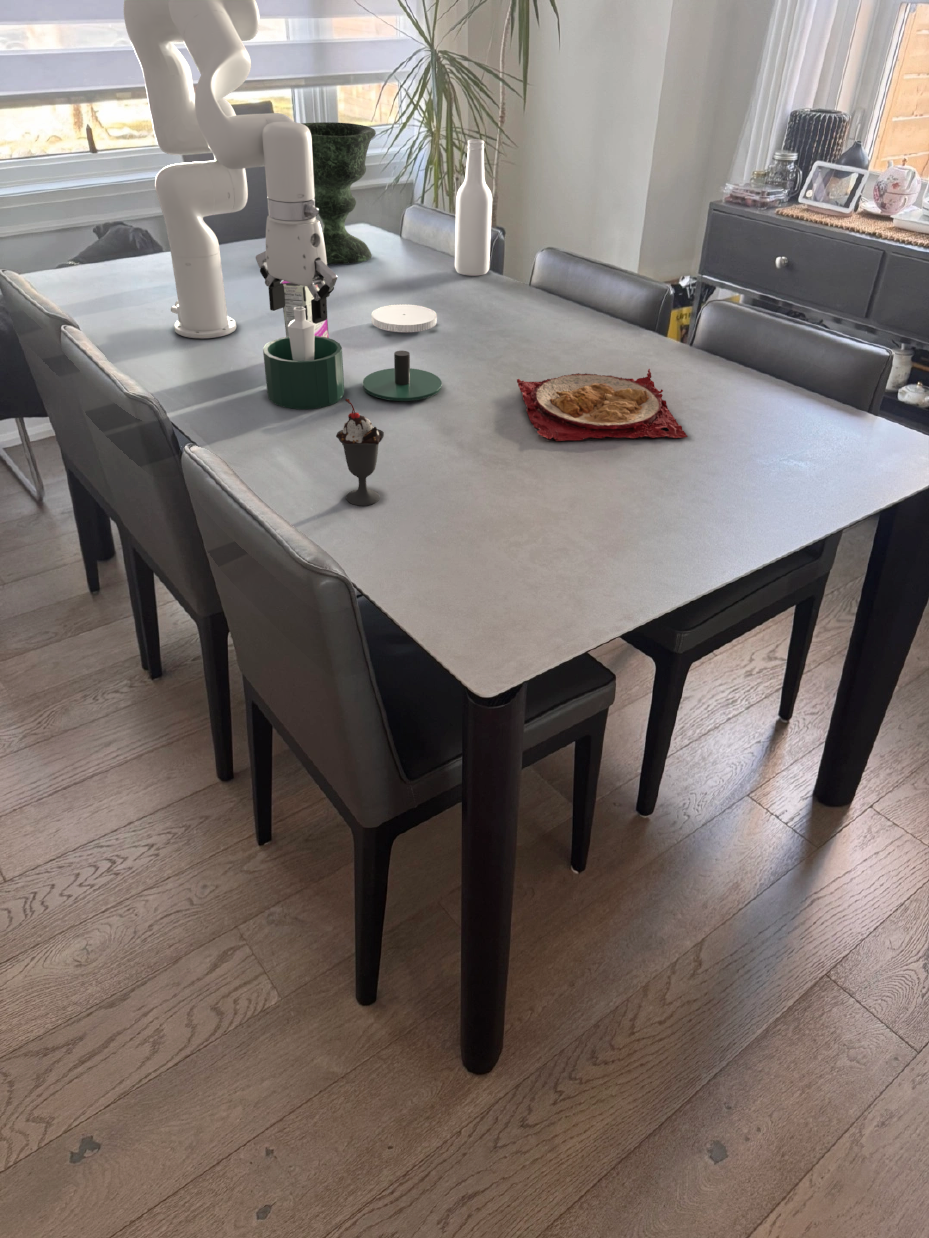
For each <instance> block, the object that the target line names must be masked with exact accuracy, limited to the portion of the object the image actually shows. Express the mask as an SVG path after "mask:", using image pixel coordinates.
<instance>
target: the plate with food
mask: <svg viewBox="0 0 929 1238" xmlns="http://www.w3.org/2000/svg"><path fill="white" fill-rule="evenodd" d="M652 377H653V376H652V372H651V369H650V368H648V370H647V373H646V376H645V377H644V376H643V377H639V378H636V380H635V378H627V377H625V378H624V377H619V376H614V375H605V374H603V375H601V374H596V373H594V374H593V373H587V372H586V373H579V372H578V373H571V374H563V375H561V376H557V377H553V378H547V379H544V380H542V381H525V380H521V378H517V379H516V383H517V385H518V387H519V391H520V393H522V400H523V402H524V404H525V406H526V407H525V408H526V412H527V416H528V419H529V421H530V423H531V424H532V425H533V428H534V429H538V430H537V431H536V432H537V434H538V435H539V436H541V437H544V438H546V439H547V440H551V439H552V438H553V439H554V440H555V441H556V442H561V441H563V442H564V441H584V440H585V439H589V438H590V439H591V438H592V439H594V438H595V439H605V438H606V437H608V438H617V439H621V438H630V439H636V438H637V439H638V438H643V437H648V438H650V439H655V438H661V437H662V438H665V437H667V438H669V439H670V438H673V439H678V438H680V439H685V438H688V437H689V436H688V434H687V432H685V430H683V426H682V425H681V424H679V422H678V421H677V419H676V418H675V417H674V414H672V412H671V411H670V409H669V408H668V405H667V400H664V399H663V394H662V393H663V392H664V389H662V388H661V389H660V390H659V389H658V388H657V387H655V382H654V381H653V380H652ZM664 428H667V429H668V430H667V431H666V430H663V429H664Z"/></svg>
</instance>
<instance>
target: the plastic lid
mask: <svg viewBox="0 0 929 1238" xmlns="http://www.w3.org/2000/svg"><path fill="white" fill-rule="evenodd" d="M370 317H371V318H370V321H371V324H372V325H373V326H374V327H376V328H378V329H380V330H383V331H387V332H393V333H417V332H422V331H427V330H429V329H430V330H431V329H432V328H434V327H435V326H436V325H437V322H438V321H437V320H438V314H437V313H436V311H435V310H433V309H431V308H429V307H426V306H422V305H418V304H417V305H416V304H402V303H401V304H390V305H384V306H380V307H377V308H375V309H374V310H373V311H371V315H370Z"/></svg>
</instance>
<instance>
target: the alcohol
mask: <svg viewBox="0 0 929 1238" xmlns="http://www.w3.org/2000/svg"><path fill="white" fill-rule="evenodd" d="M466 147H467V157H466V166H465V174H464V175H465V177H464V181H463V182H462V184H461V185H460V187H459V188H458V190H457V193H456V197H455V232H454V233H455V234H454V235H455V240H454V241H455V242H454V269H455V271H456V272H457V273H458V274H459V275H463V276H470V277H471V276H472V277H474V276H475V277H477V276H478V277H479V276H483V275H486V274H488V272H489V270H490V259H491V256H490V255H491V234H492V213H493V212H492V211H493V196H492V191H491V189H490V187H489V186H488V184H487V183H486V179H485V152H484V151H485V141H484V140H483V139H481V138H480V139H479V138H471V139H468V140H467V146H466Z"/></svg>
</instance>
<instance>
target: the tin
mask: <svg viewBox="0 0 929 1238" xmlns="http://www.w3.org/2000/svg"><path fill="white" fill-rule="evenodd" d="M262 354H263V364H264V372H265V383H266V392H267V397H268V399H269V401H270V402H271V403H273V404H275V405H277V406H279V407H281V408H286V409H293V410H295V409H296V410H314V409H320V408H325V407H329V406H332V405H335V404H337V403H338V402H339V401H341V400H342V399H343V397H344V395H345V379H344V360H343V357H344V356H343V347H342V345H341V343H340V342H339V341H337V340H335V339H332V338H330V337H329V338H326V337H320V336H314V360H307V361H296V360H293V358H292V351H291V345H290V338H289V337H286V336H283V337H279V338H276V339H274V340H273V339H272V340H271V341H269V342H267V343H266V344H265V345H264V347H263V348H262Z"/></svg>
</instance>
